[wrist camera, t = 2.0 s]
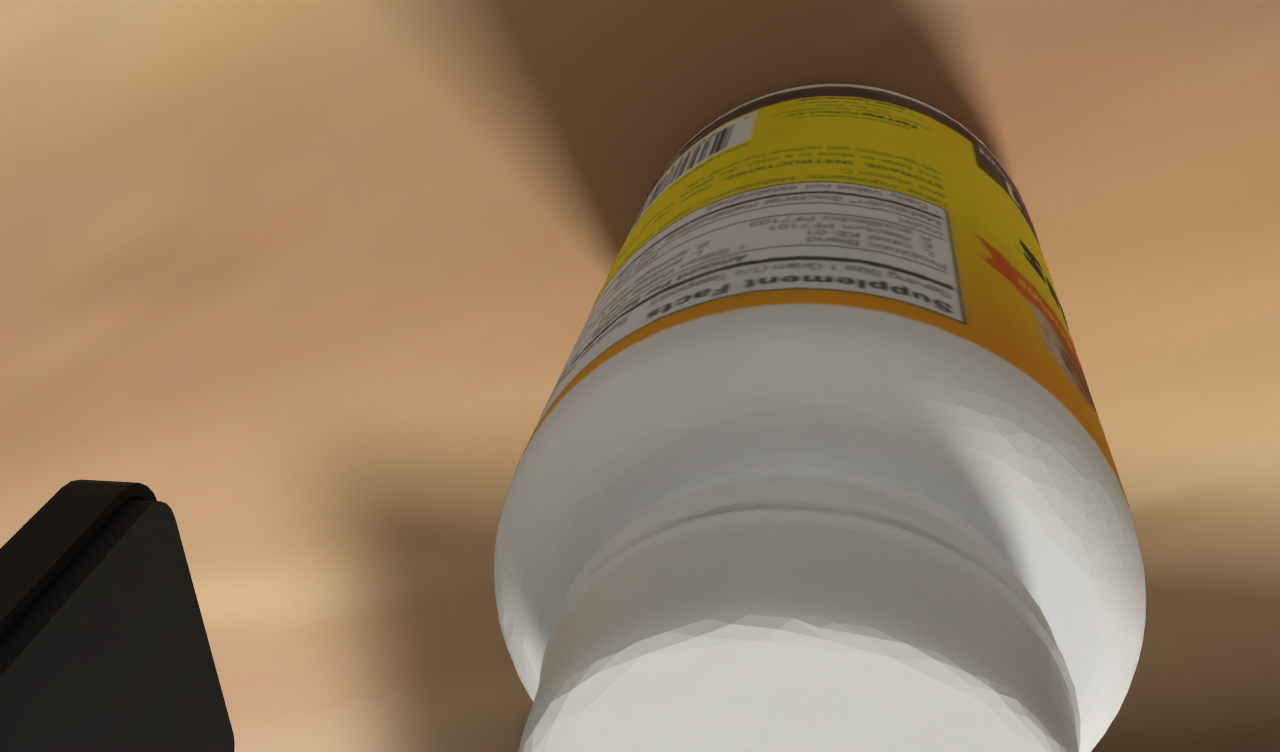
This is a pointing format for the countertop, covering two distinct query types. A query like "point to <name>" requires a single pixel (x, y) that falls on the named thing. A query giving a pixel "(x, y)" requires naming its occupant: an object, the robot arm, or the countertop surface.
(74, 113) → the countertop surface
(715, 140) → the supplement bottle
